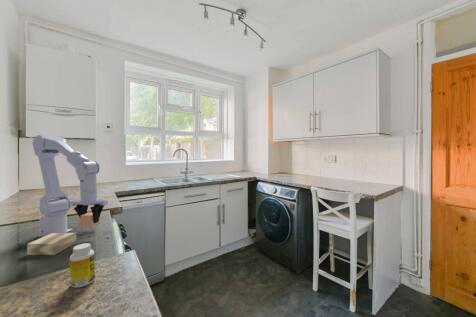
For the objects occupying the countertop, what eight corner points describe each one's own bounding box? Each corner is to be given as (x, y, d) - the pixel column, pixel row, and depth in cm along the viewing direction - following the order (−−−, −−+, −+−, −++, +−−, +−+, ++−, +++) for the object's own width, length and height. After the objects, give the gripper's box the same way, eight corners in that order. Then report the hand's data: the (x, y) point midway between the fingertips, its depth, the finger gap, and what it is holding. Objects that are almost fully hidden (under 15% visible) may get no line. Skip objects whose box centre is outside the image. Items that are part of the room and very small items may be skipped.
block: (80, 227, 88) (80, 215, 87) (89, 223, 92) (88, 212, 92) (91, 227, 87) (91, 215, 87) (99, 223, 92) (98, 212, 92)
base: (27, 254, 76) (26, 243, 76) (52, 242, 86) (52, 233, 86) (54, 254, 76) (53, 243, 76) (76, 242, 86) (76, 232, 86)
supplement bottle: (93, 284, 58) (92, 248, 58) (68, 291, 56) (66, 252, 55) (97, 274, 63) (95, 240, 63) (73, 279, 61) (72, 244, 60)
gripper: (63, 192, 86) (65, 225, 86) (99, 191, 85) (100, 225, 86) (77, 189, 93) (79, 220, 93) (110, 188, 92) (111, 219, 93)
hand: (90, 222), depth 90 cm, fingers closed on block, 5 cm apart
